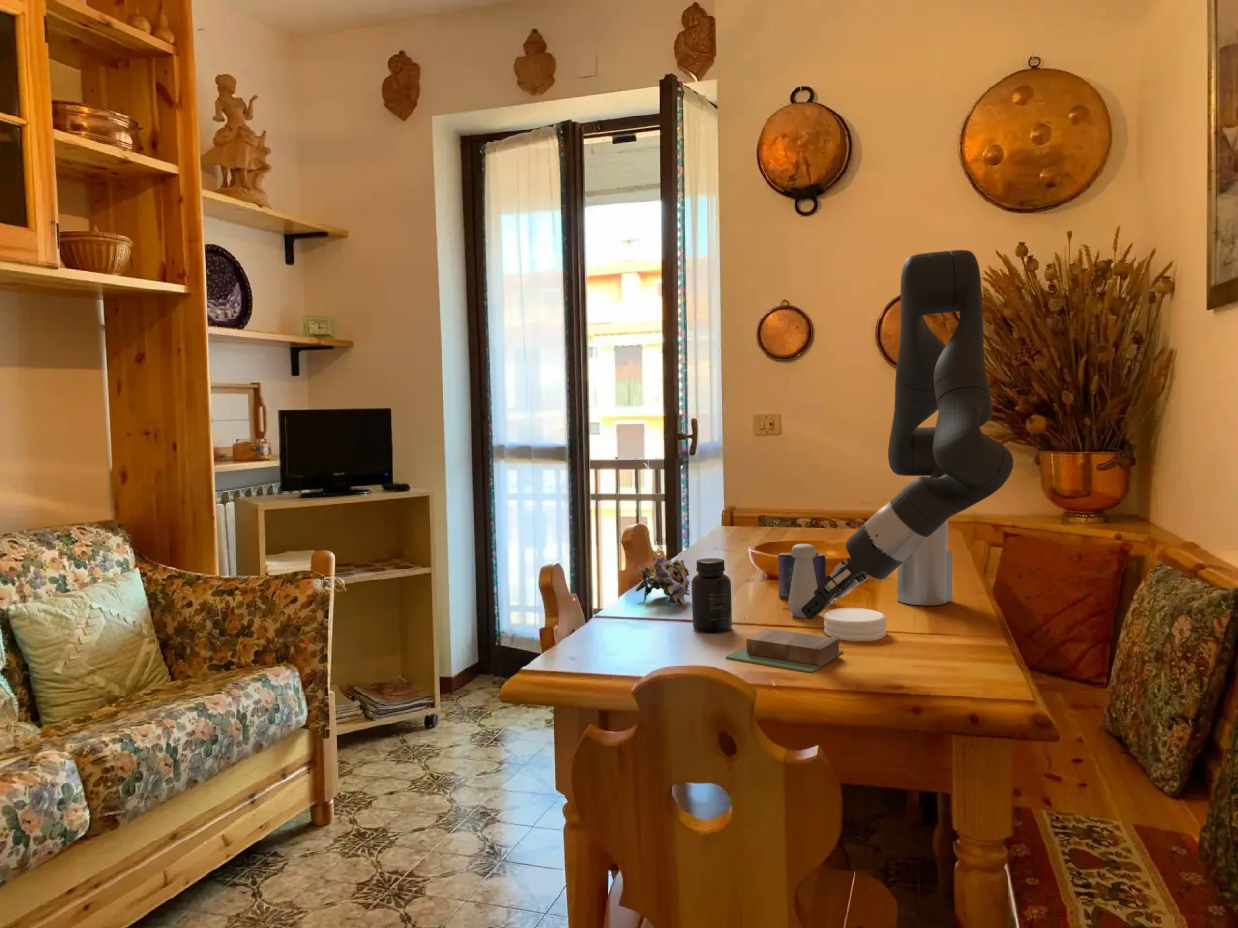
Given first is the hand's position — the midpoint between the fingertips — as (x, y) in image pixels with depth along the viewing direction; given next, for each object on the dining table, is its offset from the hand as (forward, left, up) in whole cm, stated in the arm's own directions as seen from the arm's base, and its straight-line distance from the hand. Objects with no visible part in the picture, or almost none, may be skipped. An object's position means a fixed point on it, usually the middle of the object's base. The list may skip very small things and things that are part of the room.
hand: (806, 614), depth 131 cm
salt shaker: (-14, -23, -7) cm, 28 cm away
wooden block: (-2, +3, -5) cm, 6 cm away
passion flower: (+5, -44, -7) cm, 45 cm away
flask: (-21, -35, -7) cm, 41 cm away
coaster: (-15, -9, -7) cm, 19 cm away
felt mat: (+2, -3, -7) cm, 8 cm away
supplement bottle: (+5, -22, -7) cm, 24 cm away
